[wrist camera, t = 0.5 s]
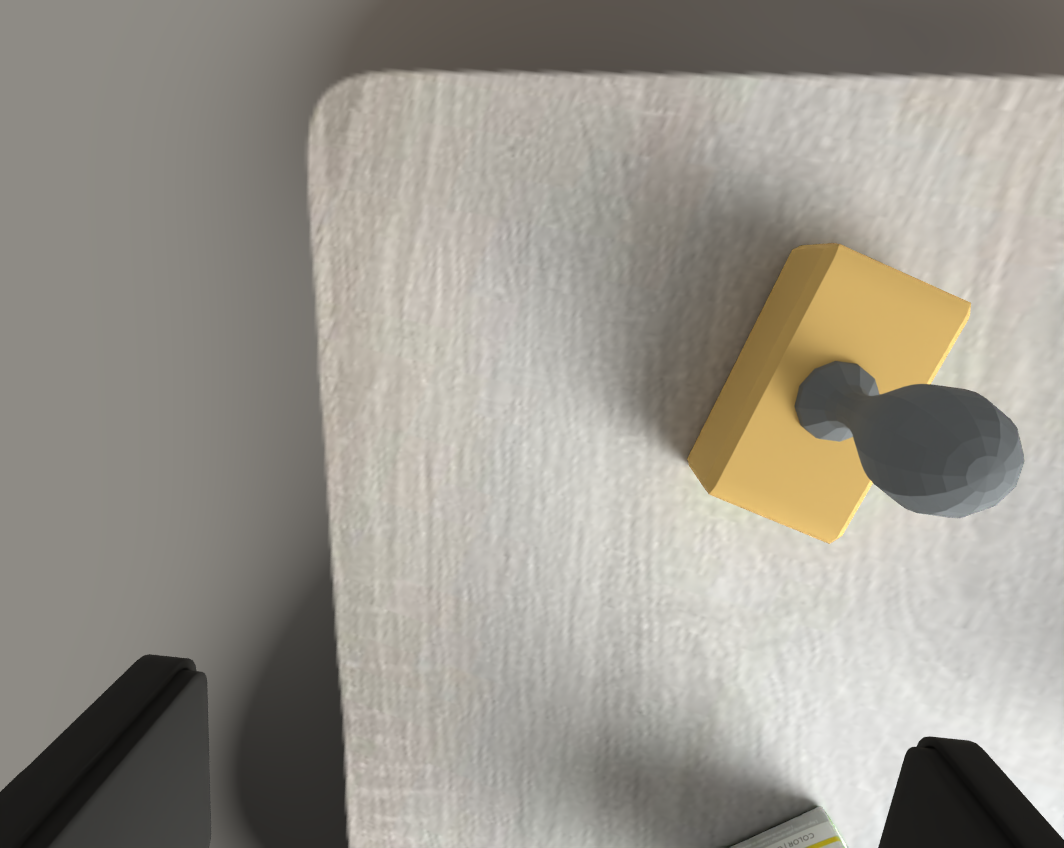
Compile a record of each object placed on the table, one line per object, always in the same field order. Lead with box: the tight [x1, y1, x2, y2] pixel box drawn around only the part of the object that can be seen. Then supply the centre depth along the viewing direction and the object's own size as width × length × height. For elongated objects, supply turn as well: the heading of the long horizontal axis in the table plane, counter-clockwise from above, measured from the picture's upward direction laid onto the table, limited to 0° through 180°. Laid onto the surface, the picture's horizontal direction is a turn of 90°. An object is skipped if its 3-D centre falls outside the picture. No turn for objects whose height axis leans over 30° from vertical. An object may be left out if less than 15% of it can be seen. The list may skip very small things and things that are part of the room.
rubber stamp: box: [687, 243, 1024, 544], centre depth 21 cm, size 10×6×12 cm, turn 157°
